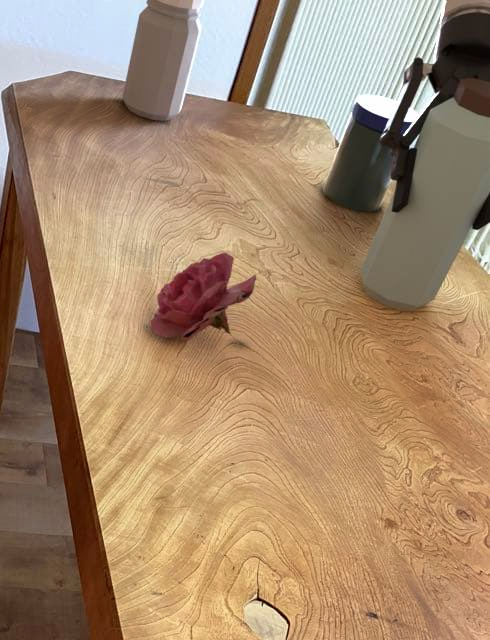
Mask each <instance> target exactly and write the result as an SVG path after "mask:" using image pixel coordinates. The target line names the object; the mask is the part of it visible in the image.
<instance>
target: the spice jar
mask: <svg viewBox="0 0 490 640" xmlns="http://www.w3.org/2000/svg"><path fill="white" fill-rule="evenodd" d="M350 113H351V112H350ZM382 133H383V132H381V131H378V130H375V129H372V128H370V127H367V126H365V125H364V124H362V123H360V122H359V121H357V120H356V119H355V118H354V117H353V116H352V113H351V114H350V117H349V118H348V121H347V124H346V126H345V129H344V132H343V135H342V137H341V140H340V142H339V145H338V147H337V151H336V152H335V155H334V158H333V161H332V163H331V166H330V168H329V170H328V174H327V176H326V179H325V182H324V184H323V186H322V192H323V194H324V195H325V196H326V198H328V199H329V200H331V201H332V202H334V203H336V204H337V205H340V206H341V207H345V208H347V209H351V210H354V211H359V212H376V211H378V210H379V209H380V208H381V206H382V205H383V204H382V203H383V202H384V199H385V197H386V195H387V192H388V190H389V187H390V185H391V183H392V181H393V180H391V177H390V173H391V167H392V162H393V157H392V156H391V154H390V151H391V150H392V149H391V148H389V147H388V146H385V147H384V146H382V145H381V144H380V138H381V136H382Z"/></svg>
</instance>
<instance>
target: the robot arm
mask: <svg viewBox="0 0 490 640" xmlns="http://www.w3.org/2000/svg"><path fill="white" fill-rule="evenodd" d="M435 44H436V45H435V49H434V55H433V61H432V63H429V62H428V63H426V62H424V60H423V59H422V58H421V57H420V56H417V57H415V58H414V59H413V60H412V61H411V62H410V64H409V65H407V67H406V68H405V70H404V72H403V80H402V81H403V84H402V87H401V90H400V93H399V95H398V97H397V99H396V101H397V102H396V104H395V106H394V108H393V111H392V113H391V115H390V118H389V120H388V122H387V124H386V127H385V129H384V131H383V133H382V136H381V138H380V144H381V145H382V146H384V147H385V146H388V147H389V148H391V149H392V150H391V151H390V154H391V156H392V157H393V162H392V167H391V173H390V177H391V180H392V181H396V183H395V189H394V191H395V194H394V200H393V206H392V212H396V213H398V212H399V211H400V210H402V209H403V208H404V207H405V206H407V205H408V201H409V195H410V189H411V183H412V178H413V171H414V166H415V160H416V154H417V149H416V148H414V147H411V146H412V145H413V143H414V142H415V140H417V139H418V137H419V134H420V132H421V130H422V127H423V125H424V123H425V121H426V118H427V116H428V114H429V112H430V109H432V108H434V107H436V106H438V105H440V104H442V103H444V102H445V101H447V100H449V99H451V98H453V97H454V94H455V92H456V89H457V87H458V84H459V82H460V79H467V78H475V79H479V80H484V81H488V82H490V0H443V3H442V9H441V15H440V22H439V30H438V32H437V38H436V43H435ZM426 79H428V81H429V84H430V85H431V88H432V90H433V92H434V94H433V96H432V97H431V98H430V100H428V102H427V103H426V105H425V106H424V107H423V109H422V110H421V112H419V114H418V117H417V118H416V119H415V121H414V122H413V123H412V124H411V126H410V127H409V128H408V130H407V131H406V132H405V134H404V135H401V134H400V133H399V131H400V129H401V126H402V124H403V122H404V120H405V117H406V115H407V113H408V111H409V108H411V106H412V104H413V101H414V99H415V98H416V95H417V92H418V90H419V88H420V85H421V84H422V83H423V82H424V81H425V80H426ZM489 224H490V193H489V195H488V197H487V199H486V200H485V202H484V204H483V206H482V208H481V210H480V212H479V214H478V216H477V218H476V220H475V222H474V224H473V226H472V228H471V230H473V231H480V230H481V229H482V228H484V227H485V226H487V225H489Z"/></svg>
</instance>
